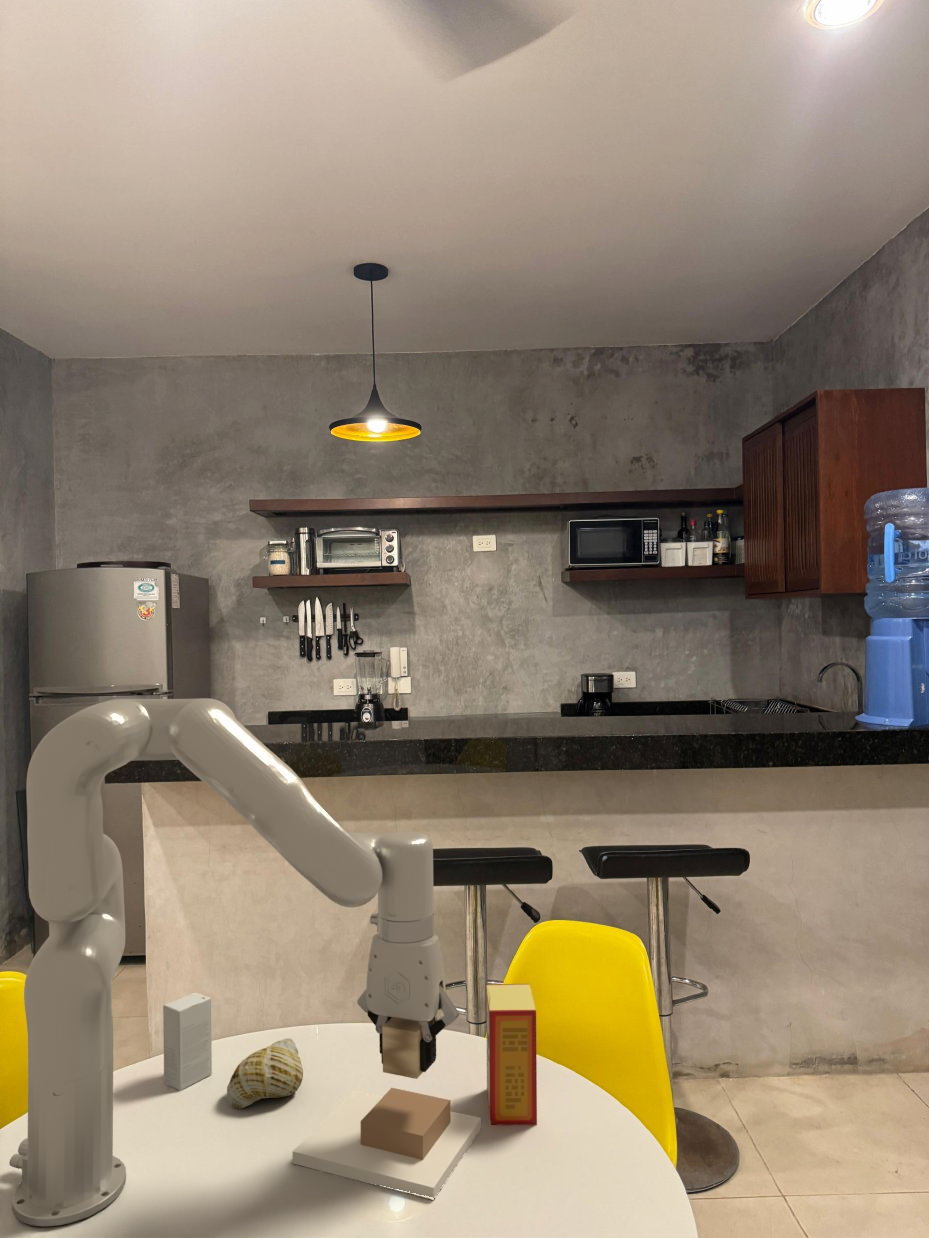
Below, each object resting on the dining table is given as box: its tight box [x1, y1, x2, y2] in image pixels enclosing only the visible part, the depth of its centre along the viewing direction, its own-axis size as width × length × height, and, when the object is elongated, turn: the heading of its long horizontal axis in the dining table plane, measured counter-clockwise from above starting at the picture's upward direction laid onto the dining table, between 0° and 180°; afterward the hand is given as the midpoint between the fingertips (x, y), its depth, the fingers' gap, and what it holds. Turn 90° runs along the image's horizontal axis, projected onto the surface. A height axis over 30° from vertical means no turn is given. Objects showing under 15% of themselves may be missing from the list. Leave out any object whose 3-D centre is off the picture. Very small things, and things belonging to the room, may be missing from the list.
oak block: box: [382, 1017, 424, 1080], centre depth 113 cm, size 5×5×6 cm
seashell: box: [226, 1037, 304, 1110], centre depth 125 cm, size 10×10×10 cm
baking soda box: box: [485, 983, 538, 1126], centre depth 122 cm, size 10×6×16 cm
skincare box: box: [162, 991, 213, 1092], centre depth 130 cm, size 6×4×12 cm
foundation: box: [291, 1087, 482, 1198], centre depth 112 cm, size 20×16×4 cm
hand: (407, 1061), depth 113 cm, fingers closed on oak block, 5 cm apart
